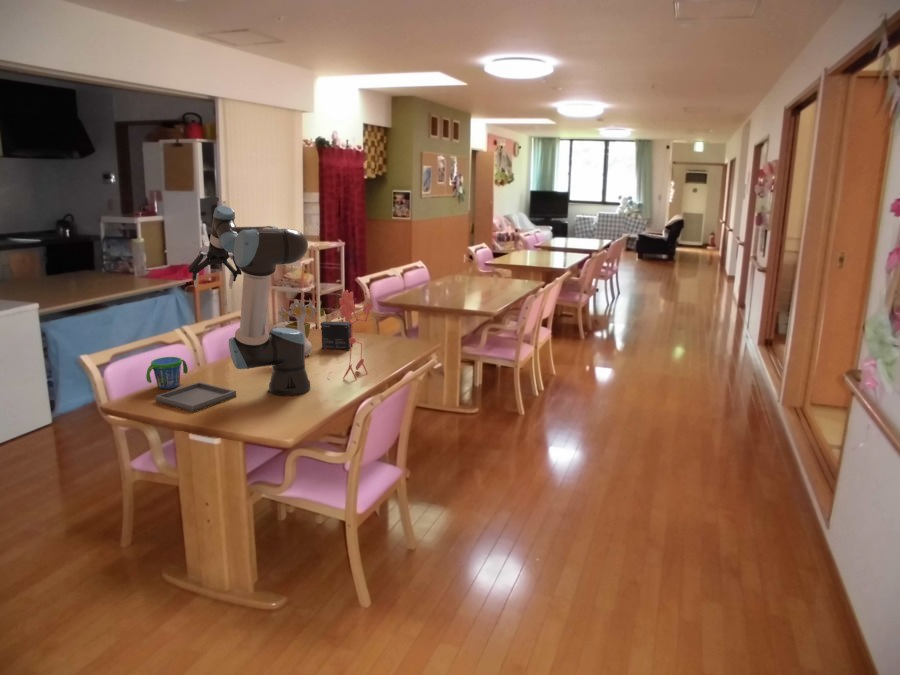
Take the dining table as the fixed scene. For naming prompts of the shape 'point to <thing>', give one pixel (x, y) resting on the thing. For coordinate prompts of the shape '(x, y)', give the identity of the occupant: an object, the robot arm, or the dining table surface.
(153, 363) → the snack cup
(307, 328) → the flower pot
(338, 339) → the small box
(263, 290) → the robot arm
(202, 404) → the cup tray
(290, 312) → the flower vase
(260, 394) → the dining table surface
